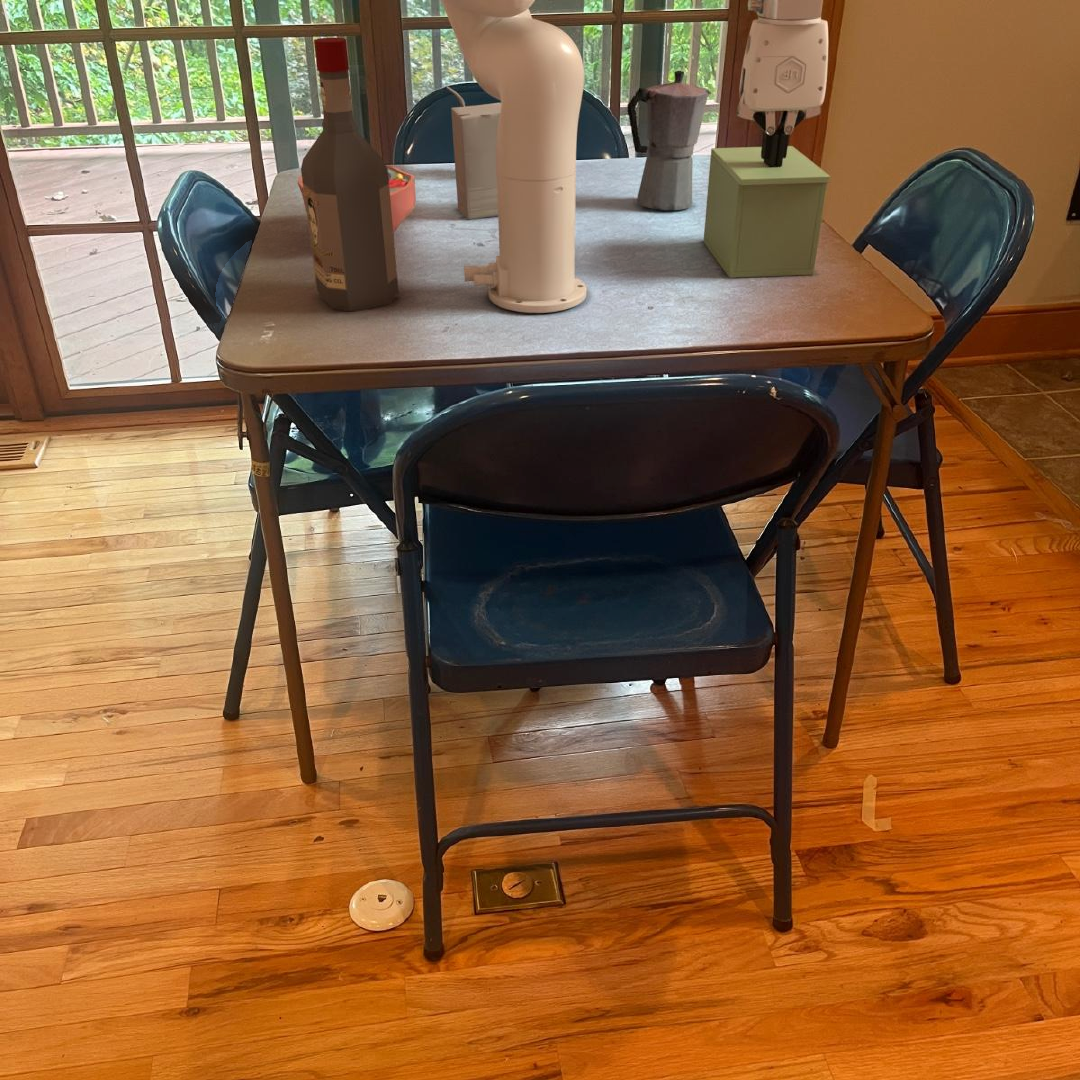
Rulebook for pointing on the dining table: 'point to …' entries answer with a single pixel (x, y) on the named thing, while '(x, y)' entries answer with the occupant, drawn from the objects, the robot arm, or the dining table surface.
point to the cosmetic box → (476, 159)
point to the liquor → (347, 198)
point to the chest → (762, 225)
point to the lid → (754, 171)
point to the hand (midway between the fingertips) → (772, 164)
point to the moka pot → (668, 141)
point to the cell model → (394, 194)
